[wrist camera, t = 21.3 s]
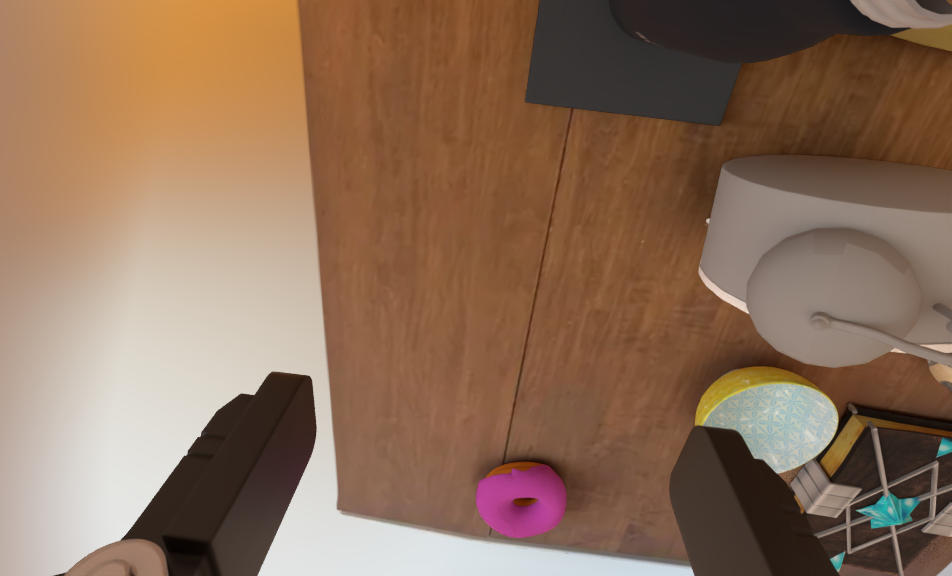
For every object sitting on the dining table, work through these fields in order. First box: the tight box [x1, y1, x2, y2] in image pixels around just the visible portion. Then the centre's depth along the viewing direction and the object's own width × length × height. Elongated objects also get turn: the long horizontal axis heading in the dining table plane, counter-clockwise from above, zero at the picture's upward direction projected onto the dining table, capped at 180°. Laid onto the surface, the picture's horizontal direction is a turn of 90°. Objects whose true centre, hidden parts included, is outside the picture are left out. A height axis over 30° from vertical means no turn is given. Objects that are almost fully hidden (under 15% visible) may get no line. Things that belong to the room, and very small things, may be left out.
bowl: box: [695, 366, 838, 474], centre depth 44 cm, size 11×12×6 cm
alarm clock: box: [699, 155, 952, 368], centre depth 28 cm, size 16×9×22 cm, turn 90°
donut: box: [476, 462, 567, 538], centre depth 54 cm, size 10×10×5 cm
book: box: [790, 403, 952, 576], centre depth 50 cm, size 22×17×5 cm
